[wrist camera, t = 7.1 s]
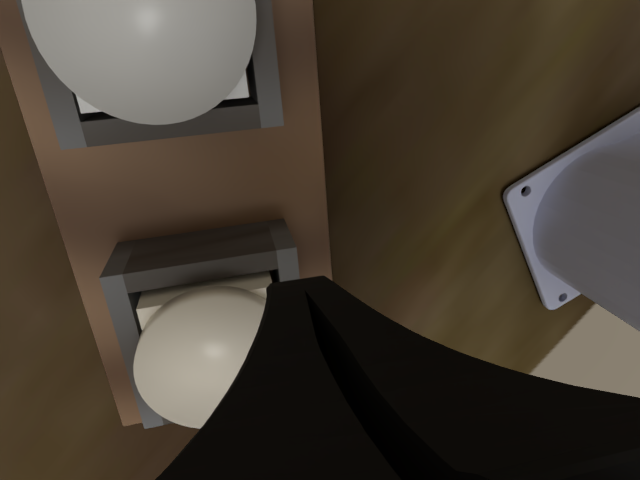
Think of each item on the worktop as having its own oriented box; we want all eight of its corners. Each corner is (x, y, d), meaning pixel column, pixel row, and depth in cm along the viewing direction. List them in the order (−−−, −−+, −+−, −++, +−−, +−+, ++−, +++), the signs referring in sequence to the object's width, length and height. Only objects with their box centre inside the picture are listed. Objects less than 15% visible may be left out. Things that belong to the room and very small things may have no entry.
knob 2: (136, 255, 17) (115, 314, 13) (271, 235, 18) (287, 285, 14) (164, 365, 19) (153, 443, 16) (284, 342, 20) (301, 410, 16)
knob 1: (51, -71, 13) (-17, -123, 9) (232, -76, 14) (240, -126, 10) (98, 114, 15) (59, 135, 11) (254, 99, 16) (268, 114, 12)
